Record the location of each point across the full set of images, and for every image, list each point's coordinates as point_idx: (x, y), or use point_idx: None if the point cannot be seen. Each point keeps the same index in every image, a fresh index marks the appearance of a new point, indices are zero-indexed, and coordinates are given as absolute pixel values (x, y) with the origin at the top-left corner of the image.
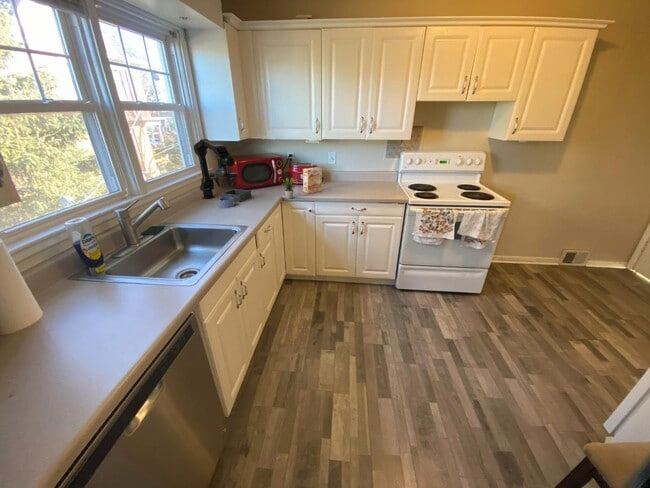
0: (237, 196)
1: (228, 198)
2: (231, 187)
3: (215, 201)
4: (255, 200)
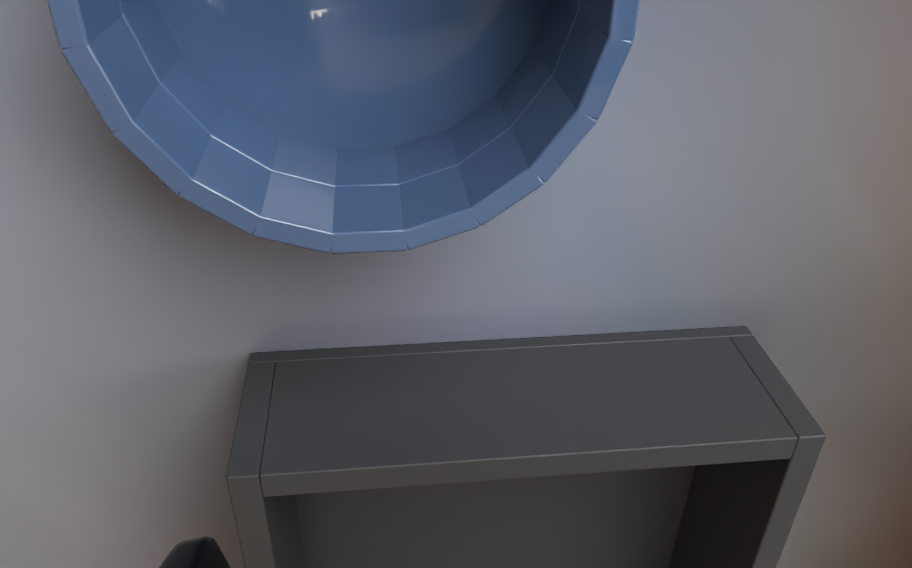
0: (306, 442)
1: (420, 199)
2: (182, 547)
3: (869, 175)
4: (27, 535)
